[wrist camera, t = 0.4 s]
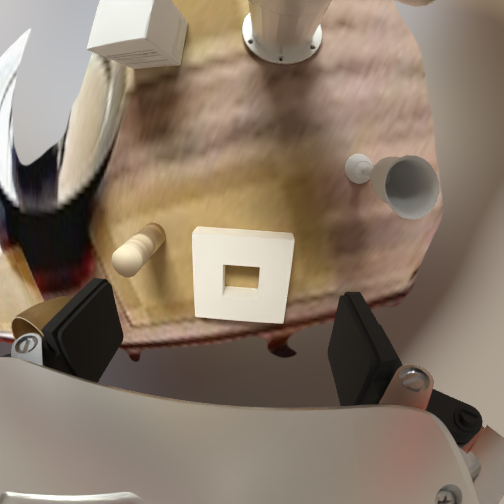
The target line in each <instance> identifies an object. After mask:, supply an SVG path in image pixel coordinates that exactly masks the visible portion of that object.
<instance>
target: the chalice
mask: <svg viewBox="0 0 504 504" xmlns="http://www.w3.org/2000/svg"><path fill="white" fill-rule="evenodd" d="M345 173H346V175H347V177H348V178H349V180H350V181H352V182H354V183H357V184H363V183H365V182H367V181H368V180H369V179H370V178H371V183H372V186H373V189H374V191H375V193H376V195H377V196H378V197H379V198H380V199H381V200H383V201H384V202H385V203H387V204H389V206H390V207H391V208H392V210H393V211H394V212H395V213H396V214H398V215H399V216H401V217H403V218H406V219H419V218H421V217H424V216H426V215H427V214H428V213H429V212H430V211H431V210H432V209H433V207H434V205H435V204H436V202H437V198H438V194H439V182H438V179H437V175H436V173H435V171H434V169H433V168H432V166H431V165H430V164H429V163H428V162H427V161H425V160H424V159H422V158H420V157H417V156H408V155H407V156H404V157H401V158H400V157H386V158H384V159H382V160H381V161H379V162H378V163H377V164H376V165H375V166H374V167H373V165H372V162H371V160H370V159H369V158H368V157H367V156H365V155H363V154H354V155H352V156H350V157H349V158H348V160H347V161H346V164H345Z"/></svg>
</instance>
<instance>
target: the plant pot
mask: <svg viewBox="0 0 504 504" xmlns="http://www.w3.org/2000/svg"><path fill="white" fill-rule="evenodd" d="M70 300H71V299H70V298H69V297H66V296H61V297H57V298H53V299H50V300H47V301H44V302H42V303H39V304H37V305H35V306H33V307H31V308H29V309H27V310H25V311H24V312H22V313H20V314H19V315H17V316H16V317H14V318H13V319H12V321H11V330H12V334H13V336H14V339H15V340H16V339H18V338H19V337H20V336H22V335H25V334H28V333H35V334H38V335H39V336H40V337H41V339H42V338H43V337H44V335H43V333H42V331H41V329H42V328H43V327H44V326H45V325H46V324H47V323H48V322H49V321H50V320H51V319H52V318H53V317H54V316H55V315H56V314H57V313H58V312H59V311H60V310H61V309H62V308H63V307H64V306H65V305H66V304H67V303H68V302H69V301H70Z"/></svg>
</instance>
